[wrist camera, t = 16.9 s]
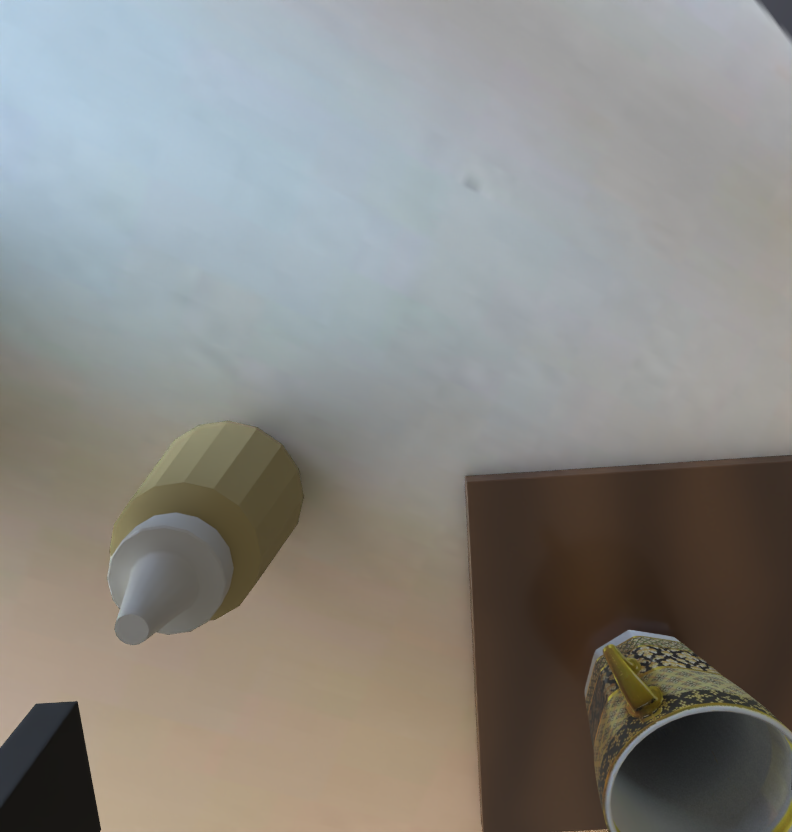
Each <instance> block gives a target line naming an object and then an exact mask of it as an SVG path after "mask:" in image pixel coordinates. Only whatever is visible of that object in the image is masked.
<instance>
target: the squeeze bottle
mask: <svg viewBox="0 0 792 832" xmlns="http://www.w3.org/2000/svg"><path fill="white" fill-rule="evenodd" d="M303 498H304V495H303V490H302V485H301V479H300V474H299V469H298V467H297V466H296V464H295V463H294V461H293V460H292V458H291V457H290V455H289V454H288V452H287V451H286V449H285V448H284V446H283V445H282V444H281V443H279V442H278V441H276V440H275V439H273V438H272V437H271V436H269V435H268V434H266V433H265V432H263V431H262V430H260V429H259V428H258V427H253V426H249V425H245V424H240V423H236V422H232V421H222V422H216V423H209V424H203V425H198V426H197V427H195V428H193V429H192V430H190V431H188V432H187V433H185V434H184V435H182V436H180V437H179V438H177V439H175V440H174V441H173V443H172V444H171V445H170V447H169V448H168V449H167V451H166V452H165V454H164V455H163V456H162V458H161V459H160V460H159V462H158V463H157V465H156V466H155V467H154V469H153V470H152V471H151V473H150V474H149V475H148V477H147V478H146V480H145V481H144V482H143V484H142V485H141V486H140V488H139V489H138V491H137V492H136V493H135V495H134V496H133V497H132V499H131V500H130V502H129V503H128V504H127V506H126V507H125V509H124V510H123V512H122V513H121V515H120V516H119V518H118V519H117V521H116V522H115V523H114V527H113V533H112V539H111V545H110V551H109V552H110V556H111V558H110V564H109V570H108V576H107V580H108V584H109V588H110V592H111V595H112V599H113V601H114V602H115V603H116V605H117V606H118V607H119V609H120V611H119V614H118V617H117V620H116V624H115V632H116V635H117V637H118V638H119V639H120V640H121V641H122V642H124V643H126V644H130V645H137V644H140V643H142V642H144V641H145V640H146V639H148V638H149V637H150V636H152V635H153V634H154V633H156V632H158V633H162V634H167V635H170V634H177V633H184V632H191V631H192V630H194V629H196V628H197V627H199V626H201V625H203V624H204V623H206V622H208V621H209V620H216V619H217V618H219V617H221V616H223V615H224V614H226V613H228V612H229V611H231V610H233V609H235V608H236V607H238V606H240V604H241V603H242V602H243V600H244V599H245V598H246V596H247V595H248V594H249V592H250V591H251V589H252V588H253V587H254V585H255V584H256V583H257V581H258V580H259V578H260V577H261V576H262V574H263V573H264V571H265V570H266V568H267V567H268V565H269V564H270V563H271V561H272V560H273V558H274V557H275V555H276V554H277V553H278V551H279V550H280V548H281V547H282V545H283V544H284V543H285V541H286V540H287V538H288V537H289V535H290V534H291V533H292V531H293V530H294V528H295V527H296V525H297V524H298V520H299V516H300V512H301V507H302V503H303Z"/></svg>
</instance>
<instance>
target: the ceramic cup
mask: <svg viewBox="0 0 792 832" xmlns="http://www.w3.org/2000/svg"><path fill="white" fill-rule="evenodd" d="M585 700H586V708H587V713H588V719H589V726H590V734H591V740H592V745H593V750H594V767H595V774H596V780H597V786H598V792H599V798H600V803H601V807H602V810H603V814H604V818H605V822H606V825H607V828H608V831H609V832H792V790H791V784H792V732H791V731H790V730H789V729H788V728H787V727H786V726H785V725H784V724H783V723H782V722H781V721H779V720H778V719H777V718H776V717H775V716H774V715H773V714H772V713H771V712H770V711H768V710H767V709H766V708H765V707H764V706H763V705H761V704H760V703H759V702H758V701H756V700H755V699H754V698H753V697H751V696H750V695H749V694H748V693H746V692H745V691H744V690H743V689H741V688H740V687H738V686H737V685H735V684H734V683H732V682H731V681H729V680H728V679H726V678H725V677H723V676H722V675H721V674H720V673H719V672H717V671H716V670H715V669H714V668H713V667H711V666H710V665H709V664H708V663H706V662H705V661H704V660H703V659H701V658H700V657H699V656H697V655H696V654H695V653H694V652H692V651H691V650H690V649H689V648H688V647H687V646H685V645H684V644H683V643H681V642H680V641H679V640H677V639H676V638H675V637H671V636H666V635H660V634H653V633H647V632H641V631H635V630H627V631H626V632H624V633H622V634H621V635H619V636H618V637H616V638H614V639H613V640H611V641H609V642H608V643H606V644H604V645H603V646H601V647H600V648H598V649H596V651H595V653H594V656H593V659H592V663H591V667H590V671H589V675H588V679H587V682H586V686H585Z"/></svg>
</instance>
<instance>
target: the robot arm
mask: <svg viewBox="0 0 792 832" xmlns="http://www.w3.org/2000/svg"><path fill="white" fill-rule="evenodd" d="M791 790H792V784H791ZM100 830H101V827H100V822H99V816H98V811H97V805H96V800H95V794H94V789H93V783H92V778H91V772H90V767H89V762H88V756H87V751H86V745H85V740H84V734H83V729H82V723H81V718H80V713H79V707H78V702H77V701H75V702H59V703H42V704H35V706H34V707H33V708H32V709H31V711H30V712H29V713H28V714H27V716H26V717H25V718H24V719H23V720H22V722H21V723H20V724H19V725H18V727H17V728H16V729H15V730H14V732H13V733H12V734H11V735H10V737H9V738H8V739H7V740H6V741H5V743H4V744H3V745H2V746H1V748H0V832H100Z"/></svg>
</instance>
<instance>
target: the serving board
mask: <svg viewBox="0 0 792 832" xmlns="http://www.w3.org/2000/svg"><path fill="white" fill-rule="evenodd" d="M465 497H466V518H467V539H468V560H469V581H470V601H471V622H472V643H473V664H474V685H475V706H476V726H477V747H478V768H479V789H480V810H481V825H482V831H483V832H564V831H582V830H599V829H608V828H607V825H606V822H605V818H604V814H603V810H602V807H601V803H600V798H599V792H598V786H597V780H596V774H595V767H594V750H593V745H592V740H591V734H590V726H589V719H588V713H587V708H586V700H585V686H586V682H587V679H588V675H589V671H590V667H591V663H592V659H593V656H594V653H595V651H596V649H598V648H600V647H601V646H603V645H604V644H606V643H608V642H609V641H611V640H613V639H614V638H616V637H618V636H619V635H621V634H622V633H624V632H626V631H627V630H635V631H641V632H647V633H653V634H660V635H666V636H671V637H675V638H676V639H677V640H679V641H680V642H681V643H683V644H684V645H685V646H687V647H688V648H689V649H690V650H691V651H692V652H694V653H695V654H696V655H697V656H699V657H700V658H701V659H703V660H704V661H705V662H706V663H708V664H709V665H710V666H711V667H713V668H714V669H715V670H716V671H717V672H719V673H720V674H721V675H722V676H723V677H725V678H726V679H728V680H729V681H731V682H732V683H734V684H735V685H737V686H738V687H740V688H741V689H743V690H744V691H745V692H746V693H748V694H749V695H750V696H751V697H753V698H754V699H755V700H756V701H758V702H759V703H760V704H761V705H763V706H764V707H765V708H766V709H767V710H768V711H770V712H771V713H772V714H773V715H774V716H775V717H776V718H777V719H778V720H779V721H781V722H782V723H783V724H784V725H785V726H786V727H787V728H788V729H789V730H790V731H791V732H792V455H786V456H771V457H755V458H740V459H724V460H708V461H693V462H677V463H662V464H646V465H630V466H615V467H599V468H584V469H568V470H552V471H537V472H521V473H506V474H490V475H475V476H465Z"/></svg>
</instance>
